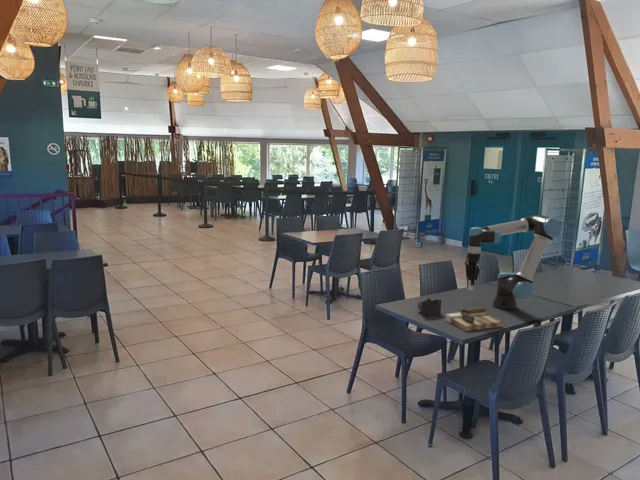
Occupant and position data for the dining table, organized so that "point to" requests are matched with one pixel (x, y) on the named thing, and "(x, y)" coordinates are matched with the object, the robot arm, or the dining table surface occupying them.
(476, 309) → the swing bar
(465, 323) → the door slab
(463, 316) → the bar
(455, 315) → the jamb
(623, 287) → the dining table surface
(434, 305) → the camera
